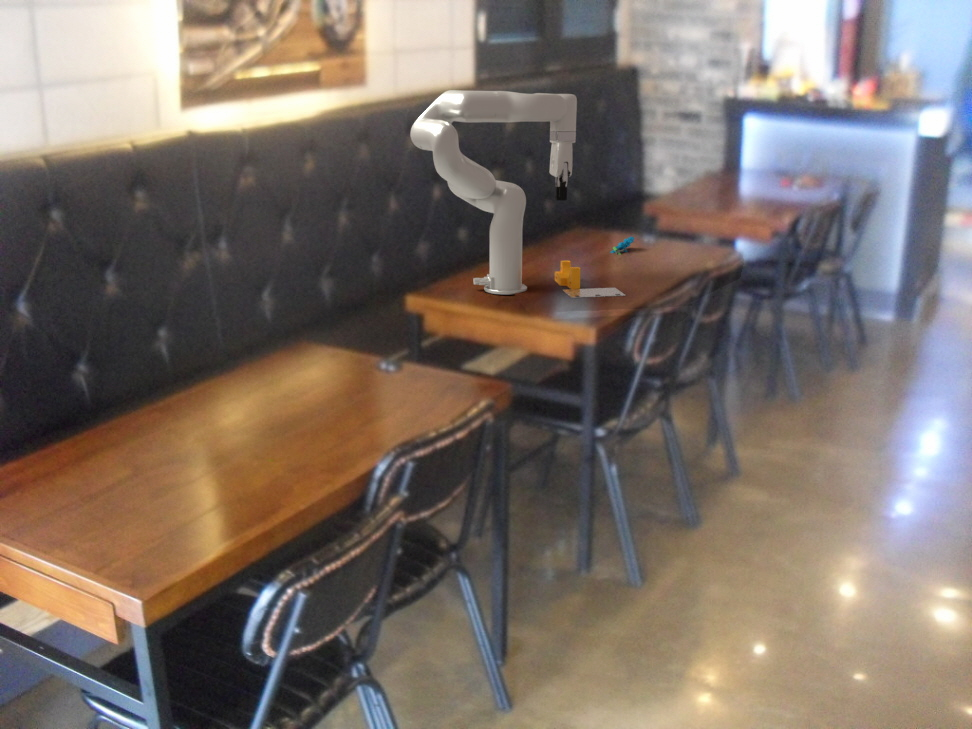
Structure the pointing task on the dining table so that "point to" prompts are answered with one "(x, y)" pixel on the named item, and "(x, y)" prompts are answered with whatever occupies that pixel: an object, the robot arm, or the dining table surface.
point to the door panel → (593, 292)
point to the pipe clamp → (568, 275)
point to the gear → (622, 246)
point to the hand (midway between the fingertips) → (560, 200)
